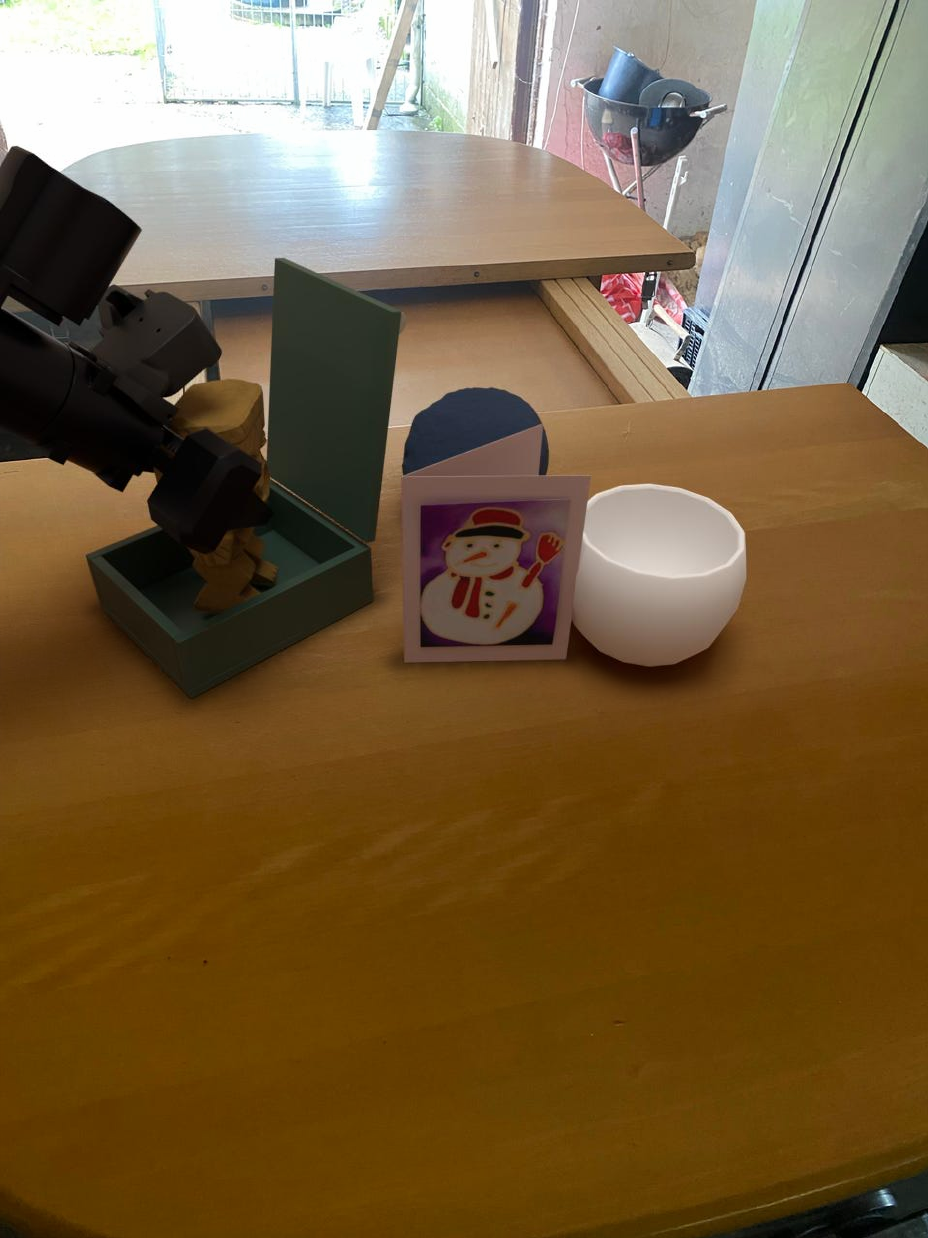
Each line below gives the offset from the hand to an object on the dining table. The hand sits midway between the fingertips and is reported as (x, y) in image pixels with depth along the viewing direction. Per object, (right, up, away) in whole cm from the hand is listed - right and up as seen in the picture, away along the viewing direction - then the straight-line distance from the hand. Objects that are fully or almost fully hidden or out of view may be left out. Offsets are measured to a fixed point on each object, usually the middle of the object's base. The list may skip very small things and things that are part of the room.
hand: (236, 493), depth 63 cm
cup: (+28, -10, +4) cm, 30 cm away
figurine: (-1, -7, +4) cm, 8 cm away
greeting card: (+17, -10, +4) cm, 20 cm away
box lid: (+6, +7, +1) cm, 9 cm away
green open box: (-1, -8, +5) cm, 9 cm away
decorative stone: (+17, 0, +16) cm, 23 cm away
